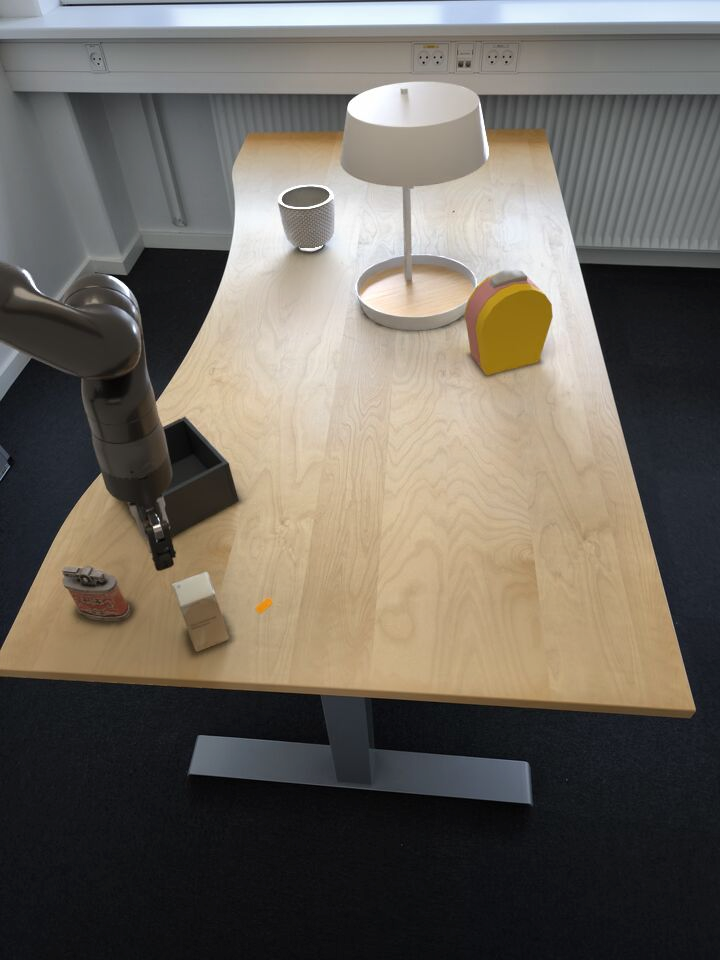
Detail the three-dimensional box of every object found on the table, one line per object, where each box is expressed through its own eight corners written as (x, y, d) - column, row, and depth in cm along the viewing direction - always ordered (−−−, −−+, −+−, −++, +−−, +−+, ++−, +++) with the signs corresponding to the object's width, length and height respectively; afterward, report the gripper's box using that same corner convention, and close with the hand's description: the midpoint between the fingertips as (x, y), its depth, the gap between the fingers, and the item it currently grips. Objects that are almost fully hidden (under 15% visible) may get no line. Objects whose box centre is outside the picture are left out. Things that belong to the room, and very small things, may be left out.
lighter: (134, 604, 111) (114, 562, 104) (125, 623, 108) (104, 582, 101) (85, 598, 112) (62, 557, 105) (75, 617, 110) (51, 576, 103)
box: (196, 653, 104) (177, 607, 96) (188, 630, 107) (169, 583, 99) (231, 638, 105) (215, 592, 97) (223, 616, 108) (206, 569, 100)
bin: (156, 546, 119) (140, 508, 112) (117, 493, 128) (101, 455, 122) (238, 500, 125) (228, 462, 118) (196, 453, 134) (185, 416, 128)
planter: (273, 249, 188) (265, 200, 179) (310, 228, 195) (304, 180, 186) (312, 264, 181) (306, 214, 172) (349, 241, 188) (345, 192, 179)
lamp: (369, 347, 154) (355, 136, 124) (340, 280, 175) (321, 85, 145) (500, 321, 158) (516, 110, 128) (456, 259, 178) (461, 64, 148)
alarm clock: (527, 338, 153) (536, 257, 140) (546, 360, 147) (557, 277, 134) (461, 355, 150) (464, 274, 137) (478, 377, 144) (483, 295, 132)
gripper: (83, 419, 83) (111, 511, 95) (113, 506, 75) (140, 595, 87) (148, 402, 86) (168, 493, 98) (185, 485, 77) (201, 574, 89)
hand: (155, 541), depth 92 cm, fingers open, 8 cm apart
